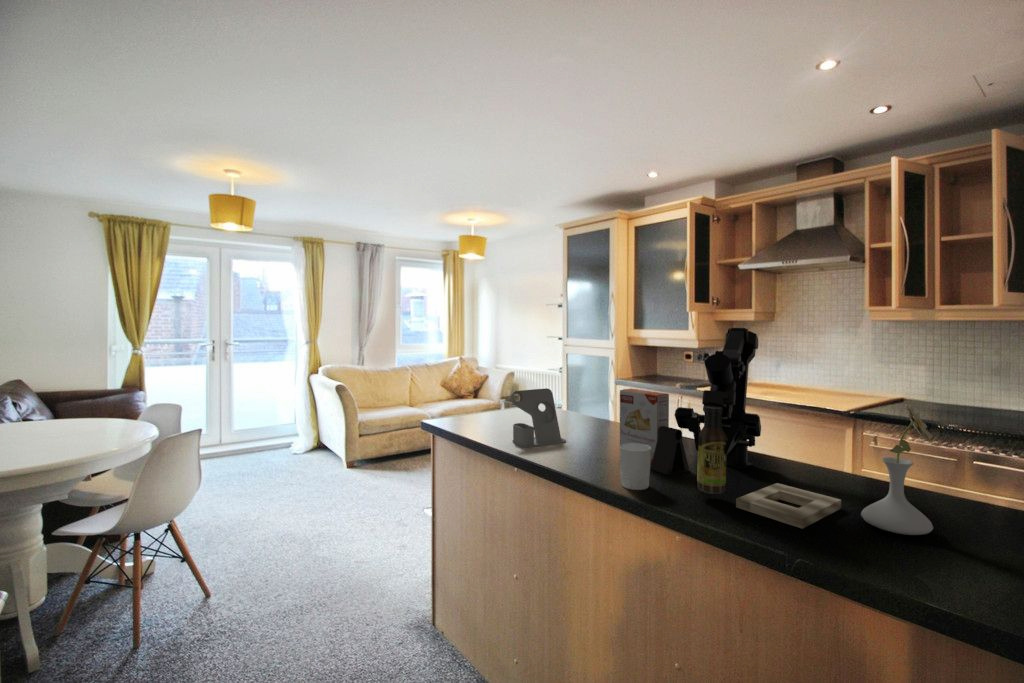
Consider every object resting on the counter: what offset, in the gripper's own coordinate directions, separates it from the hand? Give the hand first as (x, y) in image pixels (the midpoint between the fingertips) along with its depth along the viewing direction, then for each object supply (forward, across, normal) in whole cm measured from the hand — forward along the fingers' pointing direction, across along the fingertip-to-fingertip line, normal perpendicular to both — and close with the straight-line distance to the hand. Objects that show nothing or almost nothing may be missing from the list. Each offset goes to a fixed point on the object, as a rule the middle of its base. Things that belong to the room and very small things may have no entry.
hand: (711, 451), depth 113 cm
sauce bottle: (+6, 0, +8) cm, 10 cm away
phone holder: (-10, -62, +28) cm, 69 cm away
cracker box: (-9, -24, +26) cm, 37 cm away
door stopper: (-5, -15, +22) cm, 27 cm away
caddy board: (+5, +15, +12) cm, 20 cm away
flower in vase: (+5, +35, +12) cm, 37 cm away
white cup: (+8, -18, +9) cm, 22 cm away
